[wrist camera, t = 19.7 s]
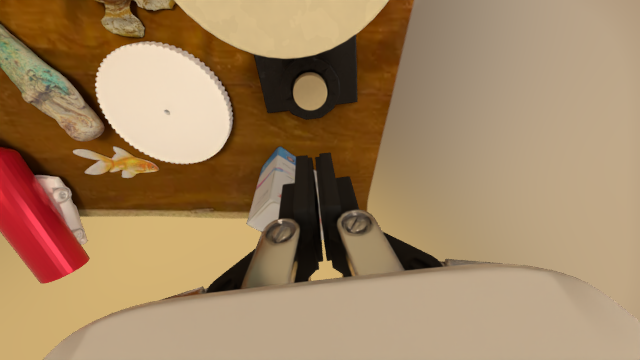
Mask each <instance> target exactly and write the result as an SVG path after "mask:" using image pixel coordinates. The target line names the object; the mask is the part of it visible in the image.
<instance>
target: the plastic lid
mask: <svg viewBox="0 0 640 360" xmlns="http://www.w3.org/2000/svg"><path fill="white" fill-rule="evenodd" d="M115 50H116V51H112V52H111V54H109V55H107V58H105V59H104V60H103V61H104V62H103V63H101V64H100V65H101V67H99V68H98V70H99V72H97V74H96V75H97V76H98V77H97V78H96V81H97V83H95V86H97V88H96V89H95V90H96V92H97V93H98V94H96V96H97V97H98V98H99V100H98V102H99V103H100V108H102V110H103V111H102V113H103V114H105V118H106V119H108V123H109V124H111V125H112V128H113V129H115V130H116V133H119V134H120V137H121V138H124V139H125V141H126V142H129V144H130V145H131V146H132V145H133V146H134V148H135V149H139V151H140V152H144V154H146V155H147V154H148V155H150V157H155V159H160V160H161V161H163V160H164V161H165V162H171V163H176V164H179V163H181V164H184V163H186V164H188V163H191V164H193V163H194V162H195V163H198V161H200V162H202V160H204V161H205V160H206V159H207V158H208V159H209V158H210V157H211V156H214V154H217V152H218V151H220V149H221V148H222V147H223V145H224V144H225V142H226V141H227V139H228V137H229V135H230V132H231V128H232V126H231V125H232V124H233V122H232V120H233V117H232V115H233V112H231V110H232V107H230V105H231V102H229V97H227V92H225V90H224V89H225V88H224V86H222V85H221V84H222V83H221V81H218V77H217V76H215V75H214V72H213V71H210V70H209V69H210V68H209V67H208V66H207V67H206V66H205V63H203V62H200V61H199V59H198V58H194V55H192V54H188V52H187V51H182V49H181V48H175V46H173V45H172V46H169V44H162V43H161V42H158V43H156V42H149V41H147V42H139V43H133V44H129V45H126V46H122V47H121V48H118V49H115Z"/></svg>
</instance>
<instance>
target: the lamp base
mask: <svg viewBox="0 0 640 360" xmlns="http://www.w3.org/2000/svg"><path fill="white" fill-rule="evenodd" d="M254 57H255V61H256V66H257V70H258V74H259V78H260V83H261V87H262V91H263V95H264V100H265V104H266V108H267V112H268V113H272V112H280V111H288V110H289V111H290V112H291V113H292V114H294V115H296V116H298V117H301V118H303V119H306V120H307V119H315V118H321V117H323V116H324V115H325V114H327V113H328V112H329V111H331V110H332V109H333V108H334V106H335V105H337V104H345V103H353V102H357V63H356V35H354V36H353V37H351V38H350V39H348V40H347V41H346V42H344V43H342V44H340V45H338V46H336V47H334V48H332V49H331V50H328V51H325V52H322V53H319V54H317V55H313V56H308V57H303V58H292V59H280V58H269V57H264V56H260V55H256V54H254ZM306 72H313V73H316V74H318V75H320V76H321V77H322V78H323V80H324V82H325V84H326V88H327V98H326V101H325V102H324V104H323V105H322V106H321V107H320V108H318V109H315V110H305V109H303V108H301V107H300V106H298V104H297V103H296V102H295V100H294V97H293V88H294V83H295V81H296V79H297V78H298V77H299V76H300V75H301V74H303V73H306Z"/></svg>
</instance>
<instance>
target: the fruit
mask: <svg viewBox="0 0 640 360" xmlns="http://www.w3.org/2000/svg"><path fill="white" fill-rule="evenodd" d="M95 1H97V2H101V3H104V5H105V8H106V10H105V15H104V18H103V19H101V23H102V24H103V26H104V27H105V28H106V29H107V30H108V31H110V32H112V33H114V34H119V35H122V36H127V37H143V36H144V29H145V28H144V27H143V25H142V23H141V21H140V20H139V19H138V18H136V17H135V16H134V15H133V14H132V13H131V11H130V2H131V0H95ZM135 1H136V2H137V4H138V7H141V8H145V9H148V10H154V11H155V10H159V9H172V8H173V6H174V5H175V3H176V2H175V1H174V0H135Z"/></svg>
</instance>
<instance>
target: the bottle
mask: <svg viewBox="0 0 640 360" xmlns="http://www.w3.org/2000/svg"><path fill="white" fill-rule="evenodd" d="M0 232H1V233H2V234H3V236H4V237H5V238H6V240H7V241H8V242H9V243H10V245H11V246H12V247H13V248H14V250H15V251H16V252H17V254H18V255H19V256H20V258H21V259H22V260H23V261H24V263H25V264H26V265H27V267H28V268H29V269H30V270H31V272H32V273H33V274H34V276H35V277H36V278H37V279H38V281H39V282H40V283H48V282H52V281H55V280H57V279H60V278H62V277H64V276H66V275H68V274H70V273H72V272H74V271H75V270H77V269H79V268H80V267H82V266H83V265H84V264H86V263H87V262H88V260H89V256H88V255H87V253H86V252H85V250H84V249H83V247H82V246H81V244H80V243H79V241H78V240H77V238H76V237H75V235H74V234H73V232H72V231H71V229H70V228H69V226H68V225H67V223H66V222H65V220H64V219H63V217H62V216H61V214H60V213H59V211H58V210H57V208H56V207H55V205H54V204H53V202H52V201H51V199H50V198H49V196H48V195H47V193H46V192H45V190H44V189H43V187H42V186H41V184H40V183H39V181H38V180H37V178H36V177H35V175H34V174H33V172H32V171H31V169H30V168H29V166H28V165H27V163H26V162H25V160H24V159H23V157H22V156H21V154H20V153H19V152H18V151H16V150H14V149H9V148H5V147H0Z"/></svg>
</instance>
